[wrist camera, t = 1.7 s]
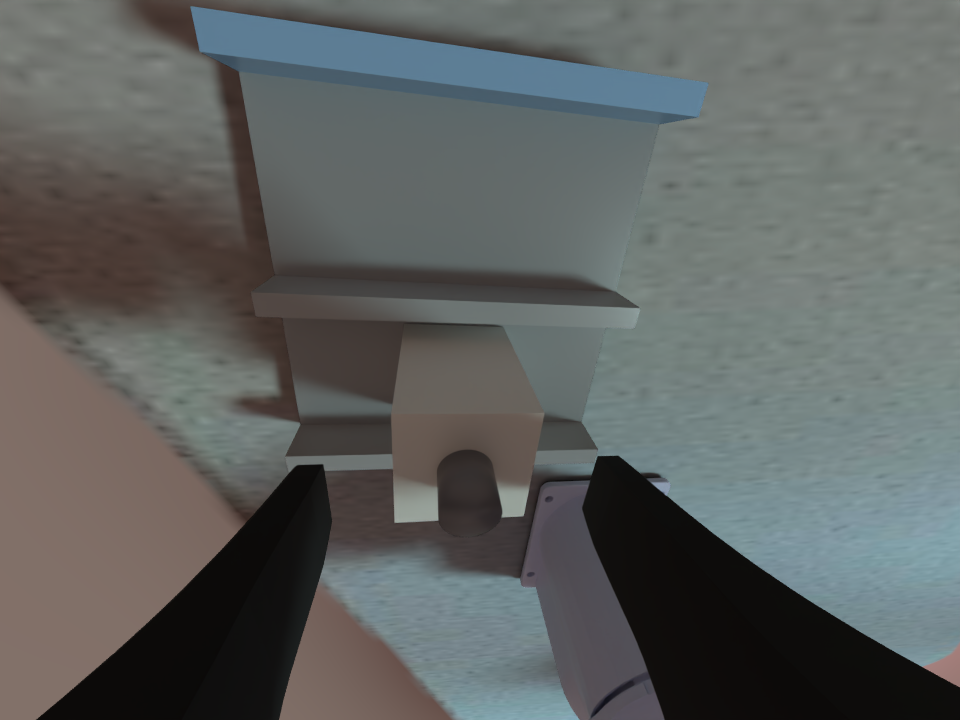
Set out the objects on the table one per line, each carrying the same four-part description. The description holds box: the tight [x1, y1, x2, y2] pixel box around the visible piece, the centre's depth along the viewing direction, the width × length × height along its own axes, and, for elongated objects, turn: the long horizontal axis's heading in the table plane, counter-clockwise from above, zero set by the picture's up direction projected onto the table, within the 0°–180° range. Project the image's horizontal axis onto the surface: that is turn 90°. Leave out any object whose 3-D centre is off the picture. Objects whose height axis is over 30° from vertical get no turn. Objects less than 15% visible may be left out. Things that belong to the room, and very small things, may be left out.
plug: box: [391, 324, 544, 537], centre depth 12 cm, size 4×4×8 cm
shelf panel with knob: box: [190, 6, 708, 472], centre depth 14 cm, size 14×13×3 cm
